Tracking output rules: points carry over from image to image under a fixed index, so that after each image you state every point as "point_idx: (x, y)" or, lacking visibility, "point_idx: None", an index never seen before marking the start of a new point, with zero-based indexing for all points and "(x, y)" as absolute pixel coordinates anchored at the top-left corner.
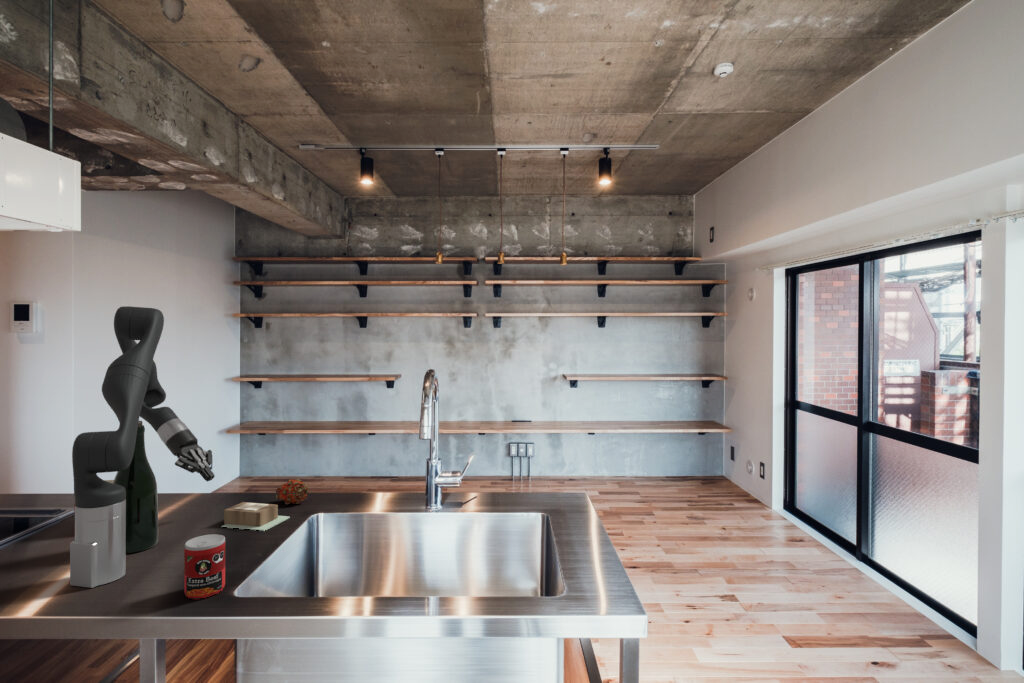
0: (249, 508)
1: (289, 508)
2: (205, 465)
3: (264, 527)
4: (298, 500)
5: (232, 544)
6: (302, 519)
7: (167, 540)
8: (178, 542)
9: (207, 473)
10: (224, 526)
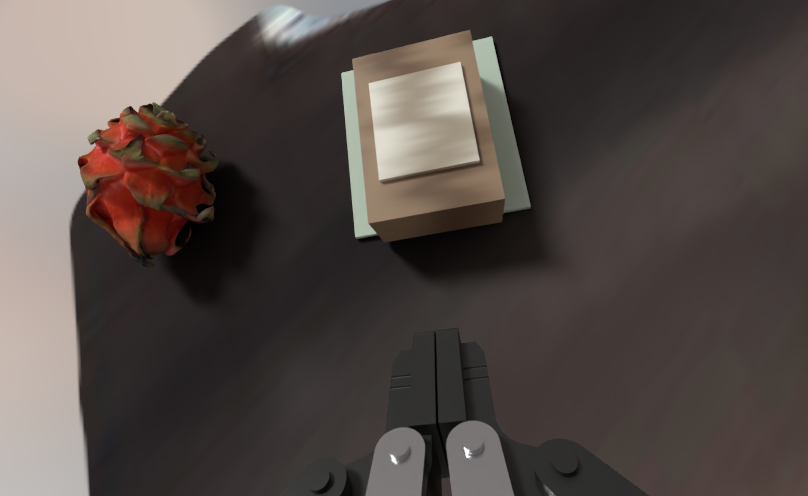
0: (450, 99)
1: (249, 160)
2: (424, 450)
3: None
4: (203, 139)
5: (644, 23)
6: (343, 31)
7: (767, 279)
8: (752, 212)
9: (461, 370)
10: (527, 192)
